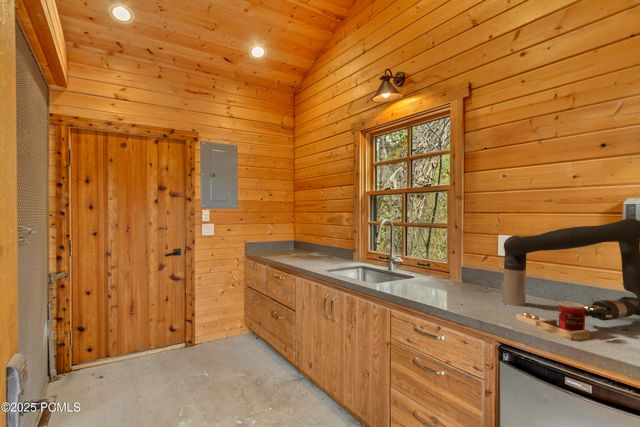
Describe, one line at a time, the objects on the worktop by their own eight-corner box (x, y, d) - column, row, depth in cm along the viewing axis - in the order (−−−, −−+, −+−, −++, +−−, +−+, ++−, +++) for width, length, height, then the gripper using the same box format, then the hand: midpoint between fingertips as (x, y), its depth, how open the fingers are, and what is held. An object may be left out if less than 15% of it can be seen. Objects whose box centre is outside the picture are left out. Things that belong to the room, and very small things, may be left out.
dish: (516, 319, 139) (516, 314, 139) (526, 318, 141) (526, 313, 141) (535, 327, 131) (535, 321, 131) (546, 325, 132) (546, 319, 132)
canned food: (569, 328, 129) (570, 300, 129) (590, 336, 121) (590, 306, 121) (553, 330, 128) (553, 301, 127) (573, 338, 120) (573, 307, 120)
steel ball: (520, 319, 139) (520, 311, 138) (526, 318, 139) (526, 311, 139) (527, 321, 136) (527, 314, 136) (532, 320, 137) (532, 313, 137)
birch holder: (536, 328, 129) (536, 321, 129) (553, 326, 132) (553, 318, 132) (571, 342, 116) (571, 333, 116) (589, 339, 119) (590, 330, 119)
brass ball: (528, 322, 135) (529, 314, 135) (534, 321, 136) (534, 313, 136) (535, 324, 132) (535, 316, 132) (541, 323, 133) (541, 316, 133)
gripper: (591, 296, 138) (560, 299, 132) (628, 304, 125) (596, 308, 120) (590, 314, 138) (559, 317, 133) (628, 324, 125) (595, 329, 120)
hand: (577, 313), depth 126 cm, fingers closed
